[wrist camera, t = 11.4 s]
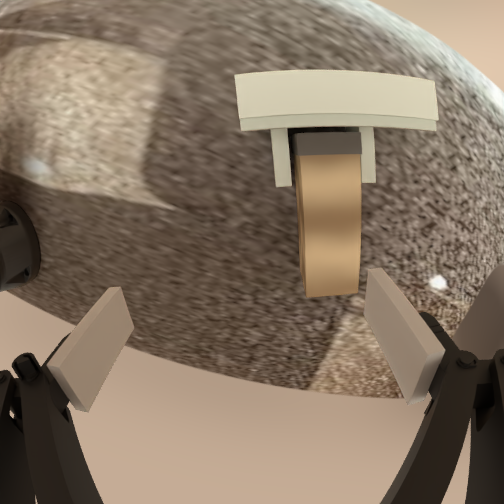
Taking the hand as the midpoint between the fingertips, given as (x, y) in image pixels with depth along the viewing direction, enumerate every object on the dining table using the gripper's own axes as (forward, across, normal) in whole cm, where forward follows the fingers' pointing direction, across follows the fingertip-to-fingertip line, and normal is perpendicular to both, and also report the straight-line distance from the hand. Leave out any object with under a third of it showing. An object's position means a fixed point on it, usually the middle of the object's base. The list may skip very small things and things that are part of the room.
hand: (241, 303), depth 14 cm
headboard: (+20, +8, +8) cm, 23 cm away
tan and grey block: (+20, +8, 0) cm, 21 cm away
